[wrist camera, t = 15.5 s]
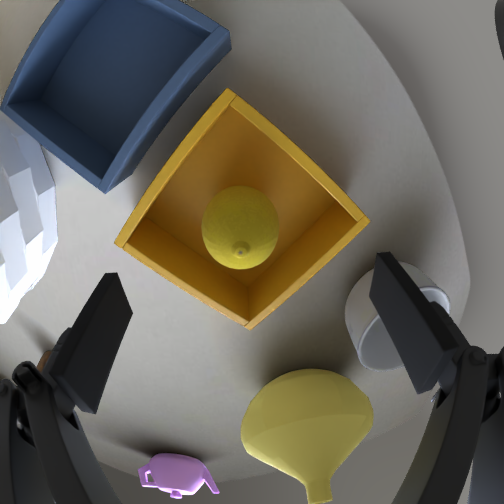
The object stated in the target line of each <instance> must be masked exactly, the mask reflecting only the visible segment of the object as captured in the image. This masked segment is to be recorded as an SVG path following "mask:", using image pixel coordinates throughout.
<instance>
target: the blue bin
mask: <svg viewBox="0 0 504 504" xmlns="http://www.w3.org/2000/svg"><path fill="white" fill-rule="evenodd" d="M231 49H232V48H231V40H230V32H229V30H227V29H226V28H224V27H223V26H221V25H219V24H218V23H217V22H215V21H214V20H212V19H210V18H209V17H207V16H205V15H204V14H202V13H200V12H199V11H197V10H195V9H194V8H192V7H190V6H188V5H187V4H185V3H183V2H181V1H179V0H59V2H58V3H57V4H56V6H55V7H54V8H53V10H52V11H51V13H50V14H49V16H48V17H47V18H46V20H45V21H44V23H43V24H42V26H41V27H40V29H39V31H38V32H37V34H36V35H35V37H34V39H33V40H32V42H31V44H30V45H29V47H28V49H27V51H26V53H25V54H24V56H23V58H22V60H21V62H20V64H19V66H18V68H17V70H16V72H15V74H14V76H13V78H12V80H11V82H10V85H9V87H8V89H7V91H6V94H5V96H4V99H3V101H2V104H1V106H0V110H1V111H2V112H3V113H4V114H5V115H7V116H8V117H9V118H10V119H11V120H12V121H14V122H15V123H16V124H17V125H18V126H19V127H21V128H22V129H23V130H24V131H25V132H27V133H28V134H29V135H30V136H32V137H33V138H34V139H35V140H36V141H38V142H39V143H40V144H41V145H43V146H44V147H45V148H46V149H48V150H49V151H50V152H51V153H53V154H54V155H55V156H56V157H58V158H59V159H60V160H61V161H63V162H64V163H65V164H66V165H68V166H69V167H70V168H72V169H73V170H74V171H75V172H77V173H78V174H79V175H81V176H82V177H83V178H85V179H86V180H87V181H88V182H90V183H91V184H92V185H94V186H95V187H96V188H98V189H99V190H100V191H102V192H103V193H104V194H106V193H107V192H109V191H110V190H111V189H113V188H114V187H115V186H117V185H118V184H119V183H121V182H122V181H123V180H125V179H126V178H127V177H129V176H130V175H132V173H133V172H134V170H135V169H136V167H137V166H138V164H139V163H140V161H141V160H142V158H143V157H144V155H145V154H146V152H147V151H148V149H149V148H150V146H151V145H152V144H153V142H154V141H155V139H156V138H157V137H158V135H159V134H160V132H161V131H162V130H163V128H164V127H165V126H166V124H167V123H168V122H169V120H170V119H171V118H172V116H173V115H174V114H175V113H176V111H177V110H178V109H179V108H180V106H181V105H182V104H183V103H184V101H185V100H186V99H187V98H188V97H189V95H190V94H191V93H192V92H193V91H194V89H195V88H196V87H197V86H198V85H199V84H200V82H201V81H202V80H203V79H204V78H205V77H206V76H207V75H208V73H209V72H210V71H211V70H212V69H213V68H214V67H215V66H216V65H217V64H218V63H219V62H220V61H221V59H222V58H223V57H224V56H225V55H226V54H227V53H228V52H229V51H230V50H231Z"/></svg>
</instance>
